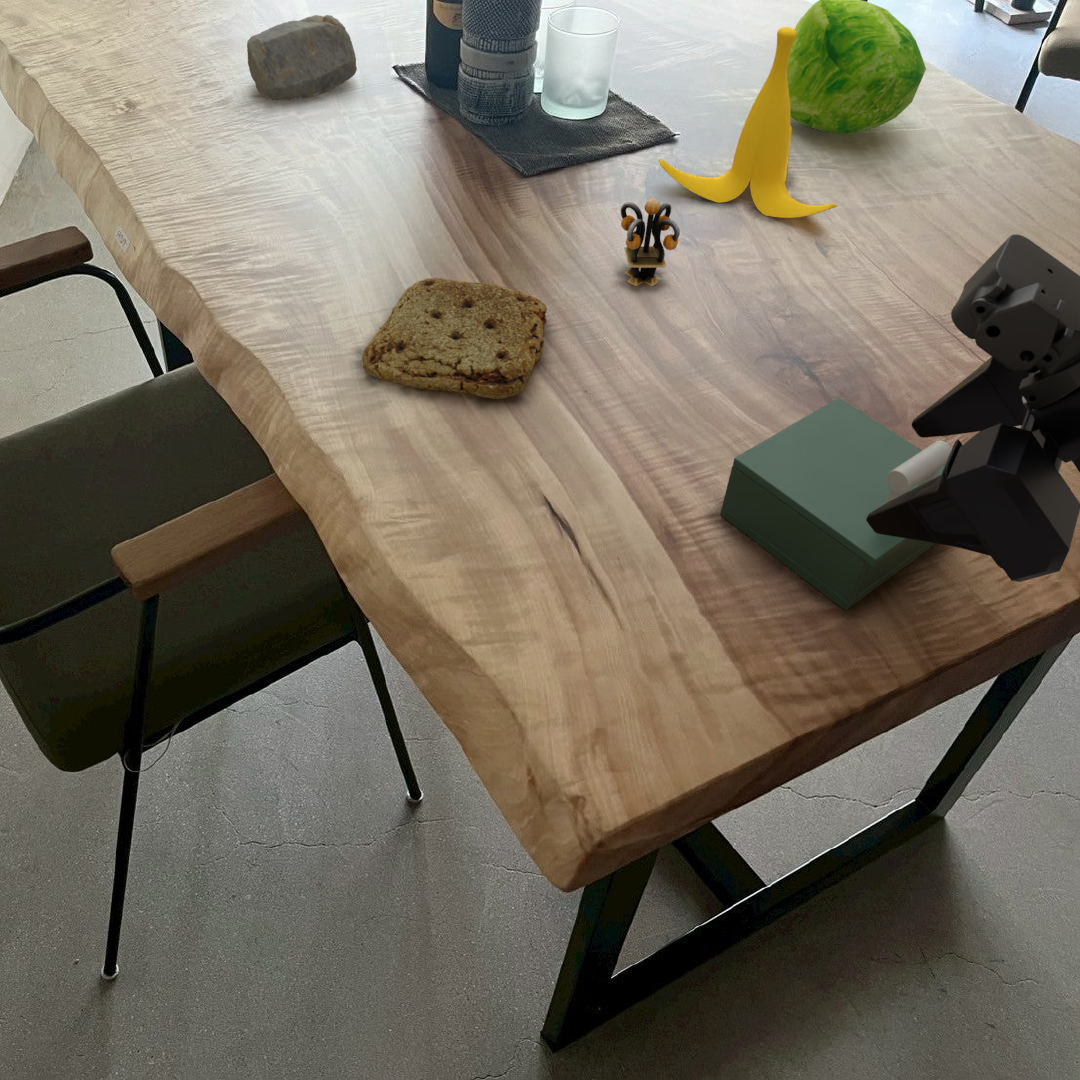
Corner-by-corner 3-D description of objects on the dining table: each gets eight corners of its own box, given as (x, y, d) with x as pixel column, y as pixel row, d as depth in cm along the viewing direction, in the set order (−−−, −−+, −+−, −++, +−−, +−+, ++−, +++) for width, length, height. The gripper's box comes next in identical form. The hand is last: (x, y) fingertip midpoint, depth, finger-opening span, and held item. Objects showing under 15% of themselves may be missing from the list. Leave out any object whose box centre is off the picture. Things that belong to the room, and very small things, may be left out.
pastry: (497, 273, 98) (497, 245, 96) (599, 373, 88) (603, 344, 86) (323, 320, 91) (320, 290, 89) (413, 435, 81) (412, 404, 79)
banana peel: (649, 189, 111) (672, 24, 99) (778, 150, 119) (813, -7, 107) (757, 261, 102) (796, 88, 90) (887, 213, 110) (940, 49, 98)
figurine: (667, 263, 101) (672, 184, 95) (676, 291, 97) (682, 211, 91) (618, 267, 100) (620, 188, 94) (625, 295, 97) (627, 215, 91)
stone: (271, 111, 119) (262, 40, 114) (242, 84, 124) (232, 15, 118) (367, 90, 125) (363, 21, 119) (336, 66, 129) (331, -2, 123)
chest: (944, 537, 76) (967, 489, 73) (845, 611, 71) (865, 562, 67) (820, 453, 82) (836, 404, 79) (719, 514, 77) (731, 465, 73)
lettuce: (832, 85, 134) (894, -20, 124) (893, 180, 123) (966, 73, 113) (735, 60, 129) (791, -52, 119) (790, 158, 117) (857, 43, 107)
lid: (975, 493, 72) (1001, 438, 69) (872, 567, 67) (895, 512, 63) (836, 404, 79) (853, 350, 75) (732, 465, 73) (745, 409, 70)
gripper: (1134, 128, 50) (861, 281, 62) (1072, 310, 38) (749, 457, 50) (1244, 312, 53) (962, 426, 64) (1218, 536, 41) (878, 626, 52)
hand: (894, 474), depth 58 cm, fingers open, 9 cm apart
